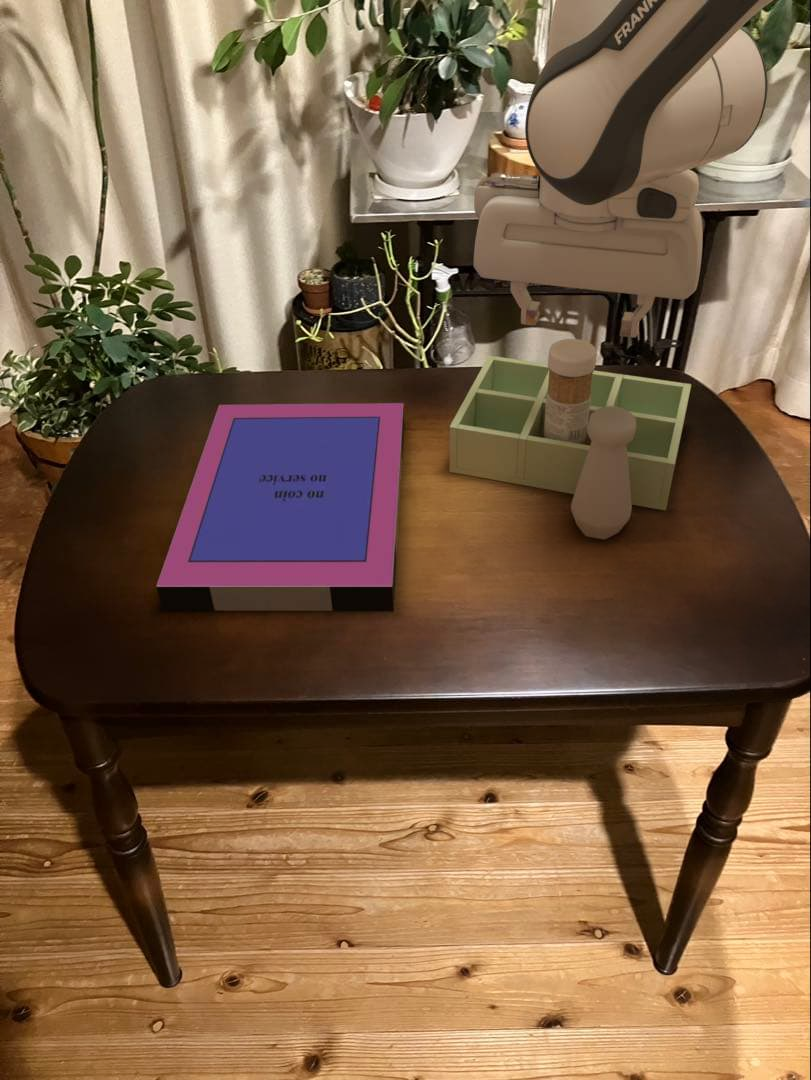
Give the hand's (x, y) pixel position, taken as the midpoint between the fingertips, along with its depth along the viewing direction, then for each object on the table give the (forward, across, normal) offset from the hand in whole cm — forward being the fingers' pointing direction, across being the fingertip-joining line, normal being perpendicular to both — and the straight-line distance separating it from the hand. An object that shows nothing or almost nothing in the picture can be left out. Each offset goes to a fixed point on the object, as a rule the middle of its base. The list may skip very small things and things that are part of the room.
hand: (578, 328), depth 87 cm
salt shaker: (+17, +5, -8) cm, 19 cm away
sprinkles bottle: (+16, 0, 0) cm, 16 cm away
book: (+16, -25, -14) cm, 33 cm away
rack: (+16, 0, +4) cm, 17 cm away
